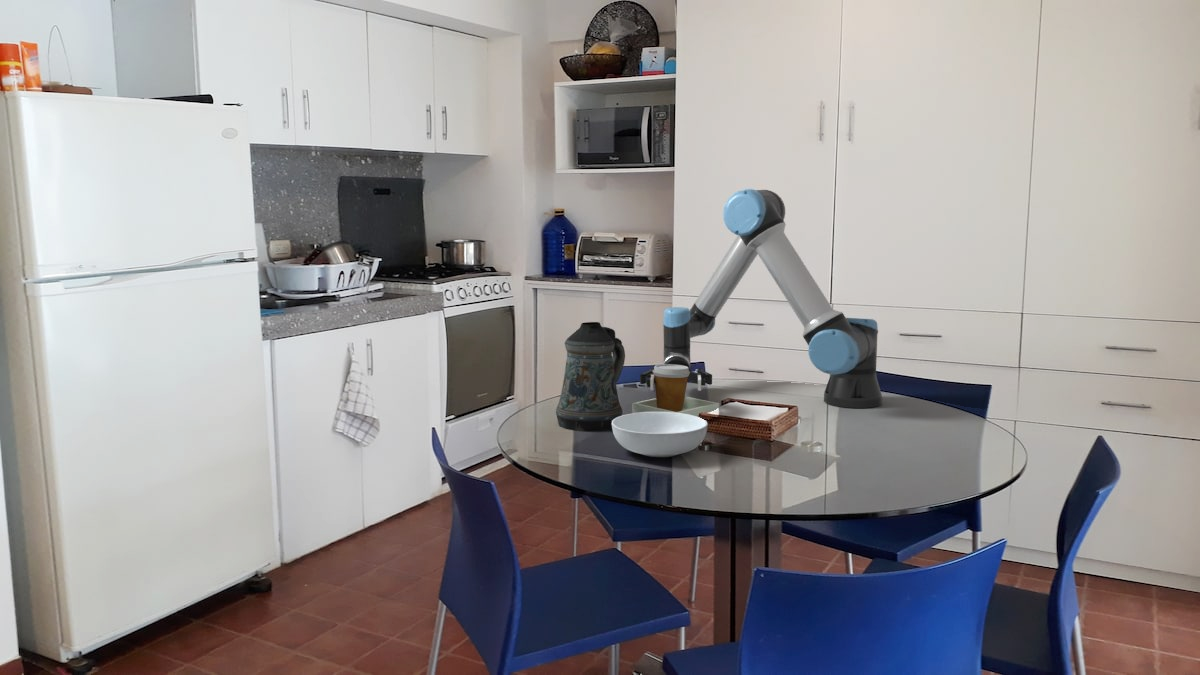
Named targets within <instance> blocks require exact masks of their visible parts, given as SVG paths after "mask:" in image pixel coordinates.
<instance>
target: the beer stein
mask: <svg viewBox="0 0 1200 675" xmlns="http://www.w3.org/2000/svg"><path fill="white" fill-rule="evenodd" d="M564 347H565V350H566V359H565V360H566V361H565V368H564V375H563V382H562V387H561V392H560V395H559V396H560V397H559V400H558V404H557V406H556V409H555V415H556V418H557V424H558V426H559V427H561V428H563V429H566V430H570V431H576V432H599V431H606V430H611V429H612V421H613V420H614V419H615V418H617V417H619V416H622V415H623V408H622V406H621V403H620V400H619V397H618V389H617V382H618V380H619V378H620V377H621V374H622V371H623V369H624V365H625V360H626V352H625V347H624V345H623V342H622V340H621V339H620V338H618V337H616V331H615V330H614V329H613V328H610V327H607V326H602V324H601V322H598V321H588V322H587V321H586V322H581V323H580V327H579V328H578V329H576V330H575V331H574V332H573V333H572V334H571V335H569V336H568V337H566V339H565V341H564Z"/></svg>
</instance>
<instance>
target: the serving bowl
mask: <svg viewBox="0 0 1200 675" xmlns="http://www.w3.org/2000/svg"><path fill="white" fill-rule="evenodd" d="M708 425H709V423H708V421H707V420H704V419H702V418H700V417H697V416H693V415H689V414H683V413H675V412H639V413H627V414H622V416H619V417H617V418H615V419H614V420H613V421H612V428H611V429H612V433H613V436H614V438H615V440H616V441H617V443H618V444H619V445H620V446H622V447H623V448H624V449H625V450H628V451H630V452H632V453H636V454H640V455H643V456H645V457H652V458H669V457H674V456H677V455H681V454H685V453H688V452H691V451H693V450H695V449H696V448H697V447H699V446H700V445H701V443H702V442H703V441H704V440H705V437H706V436H707V431H708V427H709V426H708Z"/></svg>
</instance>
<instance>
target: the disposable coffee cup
mask: <svg viewBox="0 0 1200 675" xmlns="http://www.w3.org/2000/svg"><path fill="white" fill-rule="evenodd" d="M653 368H654V370H653V371H652V372H653V374H654V379H655V383H654V389H655V391H654V392H655V398H656V402H657V408H660V409H665V410H669V411H674V412H680V411H682V410H683V404H684V398H685V396H686V391H687V384H688V382H687V380H688V376H689V374H690V372H689V369H688V367H687V366H683V365H673V364H664V363H662V364H657V365H654V367H653Z"/></svg>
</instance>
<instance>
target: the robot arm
mask: <svg viewBox="0 0 1200 675" xmlns="http://www.w3.org/2000/svg"><path fill="white" fill-rule="evenodd" d="M724 204H725V205H724V208H723V215H722V216H723V221H724V224H725V227H726V228H727V229H728V230H729V231H730V232H731V233H732V234H734V235H736V238H735V239H734V240H733V243H731V246H729V249H728V250H727V252H726V254H725V255H724V256H723V258H722V260H721V261H720V263H719V264H718V266H717V267H716V269H715V271H714V272H712V275H711V277H709V278H710V279H709V280H708V281H707V282H706V284H705V286H704V287H703V289H702V290H701V292H700V293H699V295H698V297H697V299H696V300H695V302H694V303H693V304H692V306H691V308H690V309H689V308H688V307H684V306H683V307H679V306H678V307H677V306H676V307H675V306H674V307H667V308H665V310H664V311H663V320H662V324H663V326H662V327H663V363H662V364H673V365H683V366H687V367H688V369H689V372H690V374H689V376H688V380H687V383H690V382H691V383H694V384H697V391H700V392H701V391H702V386H706V385H709V386H710V385H712V384H713V374H711V373H710V372H707V371H705V370H703V369H702V368H701V367H700V368H696V369H695V371H693V370H692V369H691V339H692V338H695V337H699V336H704V335H706V334H708V333H709V332H711V331H713V329H714V328H715V325H716V318H717V316H718V315H719V314H720V312H721V310H722V309H723V307H724V305H725V304H726V303H727V302H728V299H729V298H730V297H731V295H732V294H733V292H734V291H735V289H736V288H737V286H738V285H739V283H740V281H741V280H742V279H743V277H744V275H745V274H746V273H747V271H748V269H749V268H750V267H751V265H752V263H753V262H754V260H756V257H759V258H760V259H761V261H762V263H763V264H764V266H765V268H766V269H767V271H768V272H769V274H770V276H772V278H773V280H774V282H775V283H776V285H777V286H778V288H779V289H780V291H781V293H782V294H783V296H784V298H785V299H786V300H787V303H788V305H790V307H791V309H792V310H793V312H794V313H795V315H796V317H797V318H798V319H799V322H800V323H801V324H802V326H803V334H802V337H803V339H804V340H805V342H806V344H807V346H808V352H807V353H808V356H809V359H810V361H811V362H810V363H812V365H813V366H814V367H815V368H816V369H817V370H819V371H820V372H822V373H825V374H827V375H829V379H828V381H827V384H826V387H825V389H824V392H823V401H824V402H825V403H826V404H828V405H831V406H834V407H835V406H836V407H842V408H849V409H850V408H853V409H856V408H857V409H866V408H875V407H878V406H881V405H882V404H883V394H882V391H881V387H880V384H879V381H878V377H877V360H878V359H877V358H878V357H877V356H878V355H877V352H878V334H879V329H878V323H877V321H876V319H873V318H860V317H859V318H856V317H855V318H854V317H846V316H845V314H844V312H843V311H839V310H835V309H833V306H832V305H831V304H830V302H829V301H828V299H827V298H826V296H825V295H824V292H823V291H822V290H821V288H820V286H819V284H817V282H816V280H815V279H814V277H813V276H812V274H811V273H810V270H808V268H807V266H806V265H805V264H804V263H805V262H803V261H802V259H801V256H799V253H797V251H796V249H795V248H794V246H793V244H792V243H791V241H790V240H789V238H788V237H787V235H786V233H785V229H786V228H785V227H786V223H785V222H786V221H785V220H784V219H785V217H786V207H785V206H786V205H785V203H784V201H783V199H782V197H780V196H779V195H778V194H777V193H776V192H774V191H772V190H768V189H753V188H745V189H743V190H742V189H741V190H739V191H737V192H735V193H733V194H732V195H731V196H730V197H729V198H728V199H727V201H726V203H724ZM653 370H654V367H651V368H650V369H649V370H647V371H645V372H642V373H640V374H639V384H641V385H645V384H646V387H647V388H649V389H650V391H654V389H655V379H654V374H653V372H652V371H653Z"/></svg>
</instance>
